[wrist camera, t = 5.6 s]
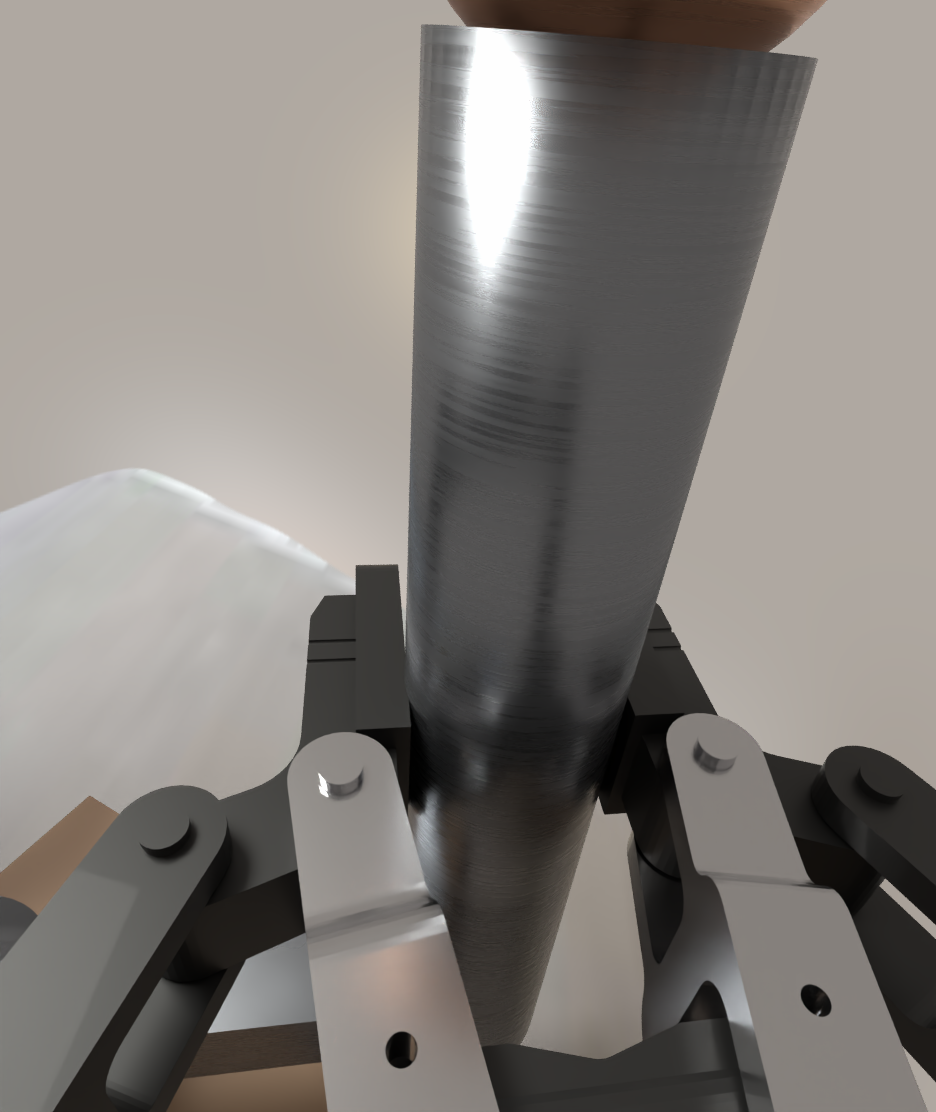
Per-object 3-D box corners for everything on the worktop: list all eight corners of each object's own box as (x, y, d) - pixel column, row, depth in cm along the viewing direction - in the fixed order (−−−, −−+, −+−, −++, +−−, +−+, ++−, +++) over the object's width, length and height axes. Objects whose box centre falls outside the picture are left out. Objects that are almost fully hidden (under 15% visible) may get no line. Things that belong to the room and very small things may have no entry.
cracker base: (-266, 1174, 16) (-412, 1098, 13) (104, 831, 23) (64, 733, 20) (106, 1614, 12) (15, 1646, 9) (412, 1031, 19) (417, 944, 16)
